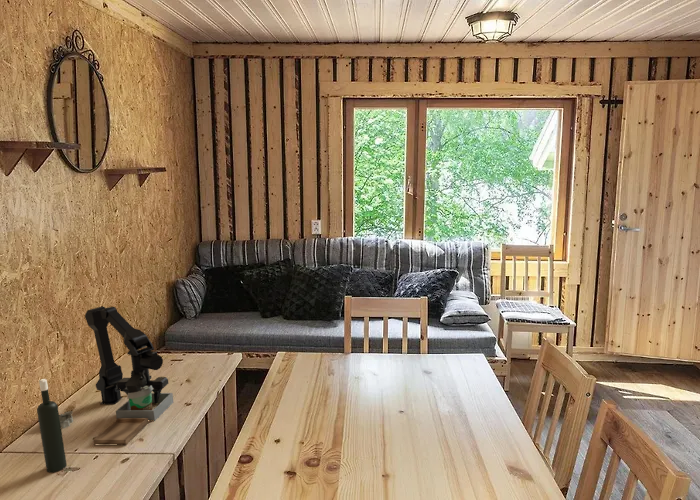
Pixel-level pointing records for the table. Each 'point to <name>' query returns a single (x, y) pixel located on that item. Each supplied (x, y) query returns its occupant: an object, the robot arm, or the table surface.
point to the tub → (126, 411)
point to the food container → (141, 399)
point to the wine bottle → (50, 431)
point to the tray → (121, 431)
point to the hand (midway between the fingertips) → (145, 404)
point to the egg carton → (65, 419)
